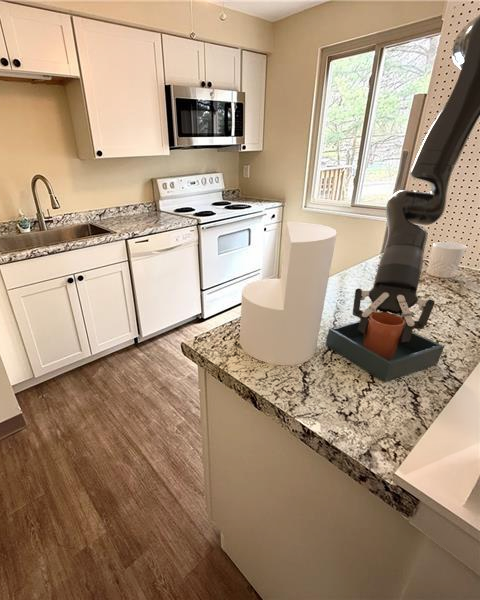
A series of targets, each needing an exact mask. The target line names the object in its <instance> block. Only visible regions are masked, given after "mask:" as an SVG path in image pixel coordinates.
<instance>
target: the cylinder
mask: <svg viewBox="0 0 480 600" xmlns="http://www.w3.org/2000/svg"><path fill="white" fill-rule="evenodd" d="M337 234H338V233H337V230H336V229H334V228H333V227H331V226H329V225H324V224H320V223H313V222H305V221H304V222H302V221H286V223H285V230H284V240H283V250H282V251H283V252H282V261H281V270H280V278H263V279H259V280H255V281H252V282H249V283H247V284H246V285H244V286H243V288H242V290H241V304H240V305H241V306H240V323H239V324H240V325H239V346H240V347H241V349H242V350H243V351H244V352H245V353H246V354H247V355H248V356H250V357H252V358H254V359H255V360H257V361H260V362H263V363H265V364H270V365H275V366H296V365H300V364H305V363H306V362H308V361H310V360H311V359H313V357H314V356H315V355H316V351H317V347H318V340H319V335H320V328H321V323H322V317H323V311H324V307H325V301H326V296H327V295H326V294H327V290H328V284H329V279H330V273H331V269H332V268H331V267H332V261H333V256H334V251H335V245H336V240H337V239H336V238H337Z"/></svg>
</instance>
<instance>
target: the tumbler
mask: <svg viewBox="0 0 480 600" xmlns="http://www.w3.org/2000/svg"><path fill="white" fill-rule="evenodd" d="M404 325H405V320H404V319H403V318H401V317H400V316H399V315H398V314H392V313H390V312H381V311H377V312H375V313H372V314H371V315H370V316H369V320H368V324H367V328H366V331H365V335H364V339H363V343H362V346H363V347H365V348H367V349H368V350H370V351H372V352H374V353H375V354H377V355H379V356H381V357H382V358H384V359H386V360H390V359H392V358H394V356H395V354H396V351H397V348H398V344H399V341H400V338H401V335H402V332H403V329H404Z"/></svg>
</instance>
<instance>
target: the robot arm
mask: <svg viewBox="0 0 480 600" xmlns="http://www.w3.org/2000/svg"><path fill="white" fill-rule="evenodd" d="M451 56H452V60H453V63H454V64H455V65H456V66H457V67H458V68H459V69H460V72H459V74H458V78H457V80H456V82H455V84H454V86H453V89H452V91H451V93H450V95H449V97H448V99H447V101H446V103H445V104H444V106H443V108H442V109H441V111H440V113H439V114H438V116H437V118H436V119H435V121H434V122H433V124H432V125H431V126H430V129H429V130H428V133H427V134H426V136H425V138H424V140H423V142H422V145H421V146H420V149H419V151H418V153H417V155H416V158H415V160H414V163H413V166H412V168H411V170H410V177H411V178H412V179H414V180H417V181H420V182H425V183H427V184H429V185H430V191H429V192H427V191H426V192H425V191H416V190H407V189H404V190H399V191H397V192H395V193H393V194H392V195H391V196H390V198H388V201H387V203H386V207H385V217H386V224H387V238H386V243H385V246H384V250H383V253H382V255H381V257H380V261H379V264H378V266H377V272H376V275H375V280H374V283H373V286H372V288H371V289H370V290H362V288H360V287H358V288H356V289H355V291H354V297H353V299H354V300H353V305H352V306H353V308H352V315H353V316H354V317H356V318H359V321H360V323H359V327H358V333H361V335H360V336H364V334H365V331H366V327H367V323H368V318H369V316H370V315H371V314H372V313H375V312H385V313H391V314H395V315H398V316H399V317H401V318H403V319H404V320H405V325H404V329H403V332H402V335H401V339H400V344H399V345H403V346H404V344H405V343H408V342H409V341H410V339H411V334H412V332H413V330H415V329H416V330H417V329H418V330H423V329H424V328H425V326H426V325H427V324H428V322H429V318H430V317H431V314H432V311H433V309H434V306H435V303H436V301H435V300H434V299H427V300H426V299H423V298H419V297H418V295H417V292H418V287H419V283H420V279H421V274H422V270H423V267H424V256H425V250H426V247H427V243H428V237H429V233H428V230H426V228H425V227H423V226H429V225H432V224H435V223H436V222H438V221H439V220H441V218H442V216H443V215H444V213H445V210H446V206H447V198H448V190H449V185H450V182H451V177H452V174H453V172H454V170H455V167H456V165H457V164H458V162H459V159H460V157H461V155H462V153H463V151H464V149H465V146H466V145H467V143H468V140H469V138H470V136H471V134H472V132H473V130H474V128H475V126H476V125H477V122H478V120H479V118H480V14H478V15H477V16H476V17H474V18H473V19H472V20H470V21H469V22H468V23H467V24H466V25H464V27H462V29H461V30H460V31H459V32H458V34H457V35H456V37H455V39H454V41H453V44H452V48H451ZM421 225H422V226H421ZM367 297H369V299H370V301H371V302H372V303H371V304H370V305H368V307H367V308H366V309H365V310H364V311H363V310H361V301H364V300H365V299H366V298H367ZM415 305H417V306H418V310H419V311H421V313H420V316H419V318H418V320H414V318H413V316H412V312H411V311H410V308H412V307H413V306H415Z"/></svg>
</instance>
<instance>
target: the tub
mask: <svg viewBox="0 0 480 600" xmlns="http://www.w3.org/2000/svg"><path fill="white" fill-rule="evenodd" d="M368 320H369V318H368ZM359 323H360V320H357V321H352V322H350V323H346V324H342V325H337V326H334V327H331V328H329V329H328V332H327V337H326V343H325V346H326V347H327V348H329V349H331V350H332V351H333V352H335V353H336V354H338V355H340V356H342V357H343V358H345V359H346V360H348V361H349V362H350V363H353V364H354V365H356V366H357V367H359V368H360V369H362V370H364V371H365V372H367V373H368V374H370V375H372V376H373V377H374V378H376V379H378V380H379V381H381V382H382V383H387V382H390V381H393V380H396V379H399V378H402V377H405V376H408V375H410V374H413V373H416V372H420V371H422V370H425V369H429V368H431V367H434V366H437V365H439V361H440V359H441V357H442V353H443V351H444V348H445V345H442V344H441V343H438V342H436V341H434V340H432V339H429V338H427V337H425V336H423V335H421V334H419V333H416V332H414V331H412V334H411V339H410V341H409V342H408V343H405V344H404V346H403V345H399V344H400V341H399V344H398V348H397V351H396V354H395V356H394V358H392V359H390V360H386V359H384V358H382V357H381V356H379V355H377V354H375V353H374V352H372V351H370V350H368V349H367V348H365V347H363V346H362V343H363V339H364V336H360V335H361V333H358V327H359ZM367 324H368V323H367ZM366 328H367V327H366ZM364 335H365V334H364ZM400 339H401V338H400Z"/></svg>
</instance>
